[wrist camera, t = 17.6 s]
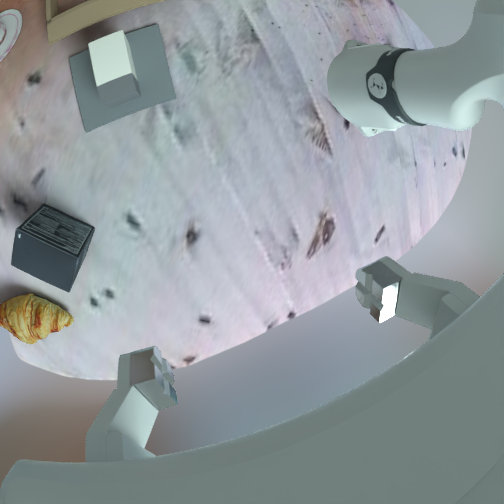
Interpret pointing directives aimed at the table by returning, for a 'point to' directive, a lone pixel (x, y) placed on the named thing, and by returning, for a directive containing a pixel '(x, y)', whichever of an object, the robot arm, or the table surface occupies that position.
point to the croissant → (32, 317)
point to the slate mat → (147, 71)
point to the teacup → (9, 30)
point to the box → (114, 69)
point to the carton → (85, 15)
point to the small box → (51, 246)
